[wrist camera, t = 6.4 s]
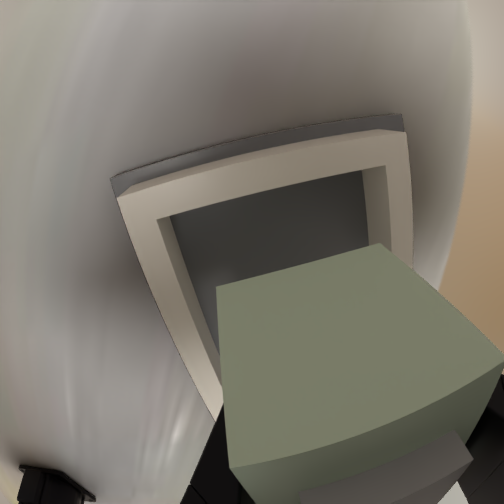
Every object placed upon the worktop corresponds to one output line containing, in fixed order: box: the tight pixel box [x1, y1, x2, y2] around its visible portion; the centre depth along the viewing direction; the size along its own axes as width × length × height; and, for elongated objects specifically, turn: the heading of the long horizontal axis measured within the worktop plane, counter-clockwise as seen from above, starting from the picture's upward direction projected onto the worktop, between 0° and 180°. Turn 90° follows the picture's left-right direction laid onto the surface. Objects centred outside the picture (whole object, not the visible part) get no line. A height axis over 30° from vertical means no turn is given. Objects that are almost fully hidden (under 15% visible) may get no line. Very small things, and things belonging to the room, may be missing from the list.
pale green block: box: [216, 243, 504, 504], centre depth 7 cm, size 6×4×6 cm
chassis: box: [110, 114, 413, 422], centre depth 14 cm, size 20×12×3 cm, turn 13°
